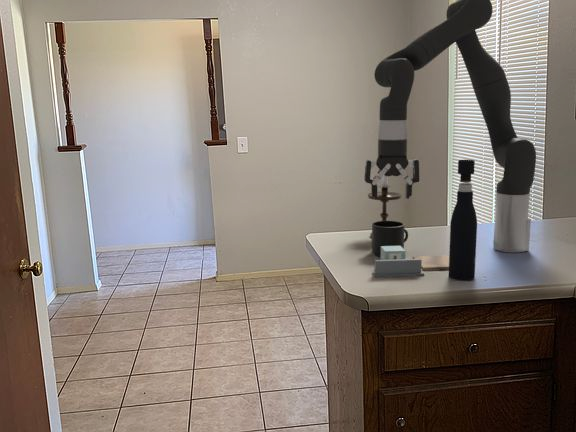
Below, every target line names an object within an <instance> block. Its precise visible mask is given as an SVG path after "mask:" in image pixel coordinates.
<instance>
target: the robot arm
mask: <svg viewBox="0 0 576 432" xmlns="http://www.w3.org/2000/svg"><path fill="white" fill-rule="evenodd" d="M445 14H446V20H444V21H443V22H441V23H439V24H437V25H436V26H434V27H433V28H431V29H429V30H427V31H426V32H424V33H423V34H421V35H420V36H418V37H417V38H415V39H414V40H413V41H411V42H410V43H409V44H408V45H406V47H404V48H402V49H400V50H398V51H396V52H394V53H392V54H391V55H388V56H387V57H385V58H383V60H381V61H380V62H379V63H378V64H377V66H376V68H375V69H374V80H375V82H376V84H377V85H379V86H380V87H383V88H390V89H389V93H388V95H387V96H385V97H383V98H382V99H381V100H380V102H379V121H378V122H379V123H378V129H377V130H378V134H377V139H378V140H377V145H378V146H377V159H376V160H371V159H366V160H365V167H364V169H365V170H364V182H365V183H366V184H370V185H371V188H370V189H371V190H370V191H371V192H370V193H371V195H372V197H374V199H377V192H378V183H379V181H380V180H382V177H383V176H384V175H385V176H388V177H393V176H394V177H399V176H401V177H402V179H403V180H404V181H405V182H406V183H405V190H404V191H405V193H404V194H405V196H404V197H405V199H407V200H408V199H410V197H412V195H413V185H414V184H416V183H420V160H419V159H417V158H414V159H408V156H407V155H408V152H407V151H408V137H409V136H408V134H409V133H408V120H407V119H408V112H407V111H408V102H409V99H410V95H411V93H412V88H413V86H414V85H413V84H414V81H415V71H419V70H421V69H423V68H424V67H426V66H427V65H428V64H429V63H430V62H432V61H433V60H434V59H435V58H437V57H438V56H440V54H441V53H443V52H444V51H445V50H447V49H449V47H451V46H452V45H454V44H456V46H457V48H458V51H459V53H460V55H461V56H462V57H461V58H462V60H463V63H464V65H465V68H466V71H467V74H468V76H469V78H470V83H471V85H472V90H473V92H474V95H475V98H476V101H477V103H478V105H479V109H480V111H481V114H482V116H483V120H484V123H485V125H486V129H487V131H488V137H489V141H490V144H491V151H492V154H493V157H494V160H495V162H496V163H497V164H498V165H499V166H500V167H502V168H503V175H502V176H503V177H502V179H501V180H500V181H499V182H497V184H496V192H495V193H496V194H495V209H494V210H495V213H494V231H493V244H492V245H493V250H496V251H498V252H502V253H504V252H505V253H512V254H513V253H523V252H527V251H528V252H529V251H530V240H531V239H530V236H531V226H532V225H531V224H532V220H531V219H530V218H529V209H530V195H531V194H530V193H531V188H532V186H533V184H534V179H535V173H536V163H537V151H536V147H535V145H534V144H533V143H532V141H530V140H528V139H526V138H519V137H518V136H517V132H515V128H514V125H513V123H512V118H511V104H512V103H511V102H512V95H511V94H512V93H511V88H510V84H509V81H508V80H507V78H508V77H507V75H506V72H505V69H504V68H503V67H502V66H501V64H500V63H499V62H498V61H497V60H496V59H495V57H493V56H492V55H491V54H490V53H489V52H488V51H487V50H486V49H485V48H484V47H483V45H482V44H481V41H480V39H479V36H478V33H477V31H476V30H479V29H481V28H483V27H484V26H485V25H487V24H488V23H489V22H490V20H491V18H492V16H493V5H492V2H491V0H455V1H454V2H452V3H450V4H449V5H448V7H447V9H446V13H445ZM408 165H409V166H410V168H412V177H410V176H409V174H407V172H406V168H407V167H408ZM375 166H376V167H377V168H378V171H377V172H376V173H375V175H374V177H373V178H371V172H372V169H373V168H374V167H375Z"/></svg>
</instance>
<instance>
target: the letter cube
mask: <svg viewBox="0 0 576 432" xmlns="http://www.w3.org/2000/svg"><path fill="white" fill-rule="evenodd" d="M396 259H406V250H405V248H404V249H403V248H402V247H401V246H381V257H380V260H396Z"/></svg>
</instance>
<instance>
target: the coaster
mask: <svg viewBox="0 0 576 432" xmlns="http://www.w3.org/2000/svg"><path fill="white" fill-rule="evenodd" d="M412 259H421V260H422V263H421V271H441V270H442V271H444V270H445V271H446V270H447V271H449V254H447V255H421V256H419V255H416V256H415V255H414V256H412Z"/></svg>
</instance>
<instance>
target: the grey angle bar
mask: <svg viewBox="0 0 576 432" xmlns="http://www.w3.org/2000/svg"><path fill="white" fill-rule="evenodd" d="M421 263H422V260H421V259H413V258H405V259H396V260H381V259H375V260H374V271H372V275H374V276H373V277H374V278H390V277H391V278H393V277H394V276H395V277H420V276H421V277H423V276H425V273H424V272H423V270H422V269H421ZM392 276H393V277H392Z"/></svg>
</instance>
